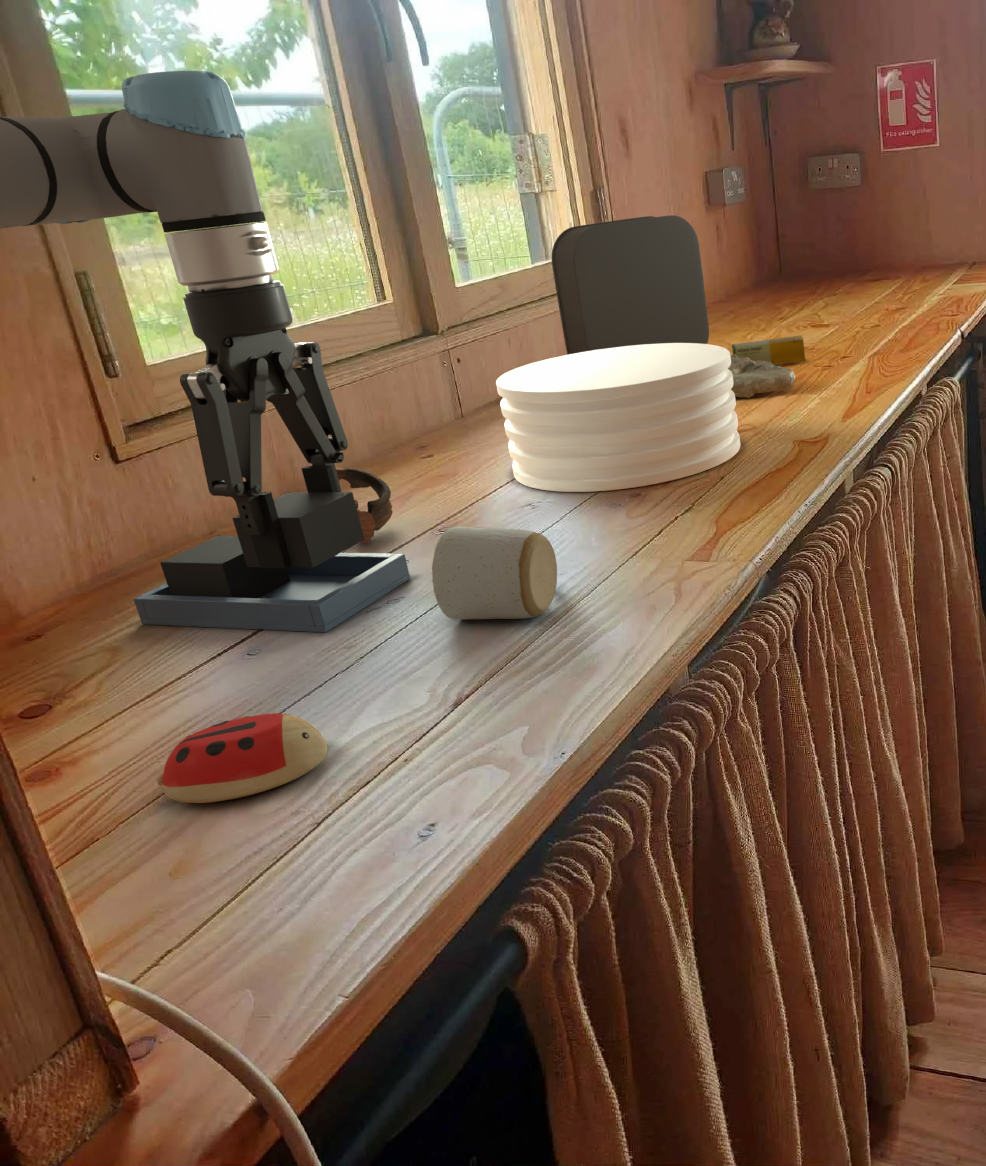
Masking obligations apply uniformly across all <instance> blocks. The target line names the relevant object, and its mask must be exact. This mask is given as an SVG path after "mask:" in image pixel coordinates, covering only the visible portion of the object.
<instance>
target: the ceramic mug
mask: <svg viewBox="0 0 986 1166" xmlns="http://www.w3.org/2000/svg"><path fill="white" fill-rule="evenodd" d="M436 543H437V544H436V546H435V549H434V552H433V558H432V565H431V572H432V573H431V575H432V576H431V577H432V586H433V587H432V588H433V593H434V596H435V600H436V602H437V605H438V607H439V609H440V611H441V612H442V613H443V615H444V616H446V617H447V618H449V619H451V620H499V619H501V620H503V619H507V620H515V619H516V620H517V619H529V618H535V617H538V616H541V615H542V614H544V613H545V612H547V610H548V609H549V607H550V606H551V604H552V603H553V600H554V598H555V593H556V589H557V582H558V564H557V557H556V552H555V549H554V548H553V546H552V543H551V542H550V540H549V539H548V538H547V537H546V536H545V535H543V534H542V533H539V532H535V531H532V530H528V529H518V528H494V527H493V528H492V527H477V526H476V527H474V526H461V525H459V526H458V525H454V526H451V527H449V528H447V529H445V531H444V532H443V533H442V535H441V536H440V538H439V539H438V541H437V542H436Z"/></svg>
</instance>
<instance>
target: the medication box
mask: <svg viewBox="0 0 986 1166" xmlns="http://www.w3.org/2000/svg"><path fill="white" fill-rule="evenodd" d="M804 343H805V342H804V337H803V336H802V335H794V336H793V335H792V336H786V337H779V338H771V339H764V340H763V339H762V340H756V341H747V342H741V343H732V344H731V353H732V355H734V354H736V355H737V357H738V358H740V359H741V358H744V357H745V358H746V357H748V358H749V359H750V360H752V361H754V362H755V361H767V362H768V363H771V364H773V365H775V366H780V365H786V364H794V363H801V362H802V363H803V362H806V361H807V359H806V353H805V344H804Z"/></svg>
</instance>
